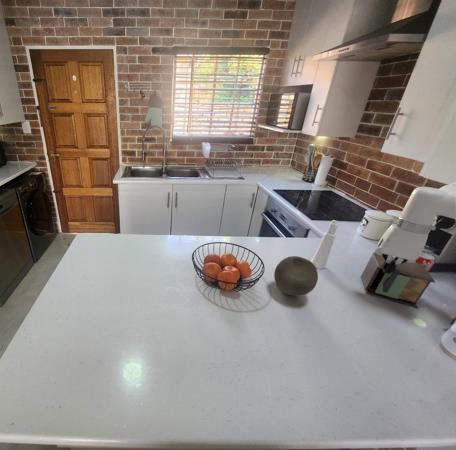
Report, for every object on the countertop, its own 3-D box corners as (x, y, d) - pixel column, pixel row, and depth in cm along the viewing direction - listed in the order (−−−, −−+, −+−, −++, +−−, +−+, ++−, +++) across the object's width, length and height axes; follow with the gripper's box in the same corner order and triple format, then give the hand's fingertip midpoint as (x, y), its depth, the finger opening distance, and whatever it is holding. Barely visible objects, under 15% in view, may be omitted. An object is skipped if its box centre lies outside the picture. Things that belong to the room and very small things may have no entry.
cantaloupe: (261, 286, 96) (270, 254, 90) (285, 276, 102) (296, 245, 96) (293, 311, 85) (307, 276, 78) (318, 298, 91) (333, 265, 84)
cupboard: (406, 288, 98) (422, 264, 93) (417, 308, 89) (435, 282, 83) (360, 276, 105) (373, 252, 99) (366, 293, 95) (379, 267, 90)
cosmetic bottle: (313, 259, 115) (330, 216, 105) (327, 266, 110) (346, 222, 100) (307, 264, 111) (324, 220, 101) (322, 270, 107) (341, 225, 97)
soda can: (405, 282, 102) (420, 258, 96) (394, 272, 108) (408, 249, 102) (425, 285, 100) (442, 261, 95) (413, 275, 106) (428, 252, 101)
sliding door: (396, 298, 92) (414, 269, 86) (399, 304, 89) (417, 275, 83) (374, 291, 94) (390, 263, 89) (376, 297, 92) (393, 269, 86)
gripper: (438, 227, 79) (409, 272, 88) (380, 216, 86) (358, 259, 94) (448, 236, 73) (417, 284, 82) (385, 224, 80) (361, 270, 88)
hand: (385, 271), depth 88 cm, fingers closed
